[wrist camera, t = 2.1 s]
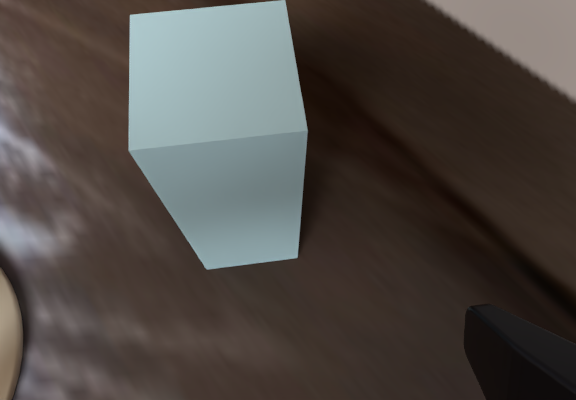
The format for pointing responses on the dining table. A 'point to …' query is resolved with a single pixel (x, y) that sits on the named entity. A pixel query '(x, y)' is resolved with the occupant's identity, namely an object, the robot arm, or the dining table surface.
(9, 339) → the board
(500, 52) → the dining table surface
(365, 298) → the dining table surface
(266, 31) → the teal post
